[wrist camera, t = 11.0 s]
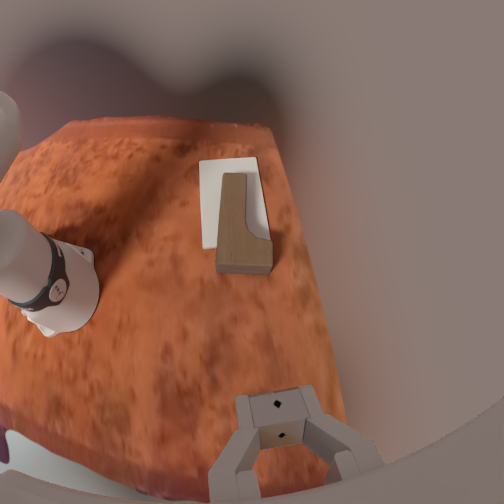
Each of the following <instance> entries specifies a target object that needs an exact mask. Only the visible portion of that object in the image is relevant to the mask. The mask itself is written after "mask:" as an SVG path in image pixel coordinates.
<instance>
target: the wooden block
mask: <svg viewBox="0 0 504 504" xmlns="http://www.w3.org/2000/svg"><path fill="white" fill-rule="evenodd" d="M246 198H247V174H245V173H226V172H225V173H223V177H222V187H221V199H220V210H219V222H218V235H217V249H216V270H217V272H218V273H236V274H261V275H269V274H270V272H271V269H272V267H273V242H272V241H271V240H266V239H262V238H257V237H255V236H254V235H253V234H252V233H251V232H250V231H249V230H248V226H247V223H246Z"/></svg>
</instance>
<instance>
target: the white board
mask: <svg viewBox="0 0 504 504" xmlns="http://www.w3.org/2000/svg"><path fill="white" fill-rule="evenodd" d="M225 172H226V173H245V174H247V198H246V223H247V226H248V230H249V231H250V232H251V233H252V234H253V235H254V236H255V237H257V238H262V239H266V240H271V239H270V233H269V228H268V222H267V216H266V210H265V205H264V199H263V193H262V188H261V182H260V177H259V171H258V166H257V161H256V157H250V158H232V159H217V160H204V161H199V175H200V201H201V222H202V240H203V249H210V248H217V235H218V222H219V210H220V199H221V187H222V177H223V173H225Z"/></svg>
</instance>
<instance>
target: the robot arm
mask: <svg viewBox="0 0 504 504" xmlns="http://www.w3.org/2000/svg"><path fill="white" fill-rule="evenodd" d="M23 141H24V126H23V120H22V116H21V113H20V110H19V108H18V106H17V105H16V103H15V102H14V100H13V99H12V98H11V97H10V96H8V95H7V94H6V93H4V92H2V91H0V183H1V182H2V180H3V178H4V176H5V175H6V173H7V171H8V170H9V168H10V166H11V165H12V163H13V162H14V160H15V158H16V157H17V155H18V153H19V152H20V150H21V148H22V147H23ZM82 253H84V254H83V255H82ZM0 295H1V296H3V297H5V298H7V299H8V300H9V301H10V302H11V303H12V304H14V305H15V306H16V307H18V308H20V309H22V310H21V313H22V314H23V315H24V316H27V317H28V320H29V321H31V322H33V323H35V324H36V325H37V326H38V328H39V329H40V330H41V332H42V333H43V334H44V335H45V336H46V337H48V338H51V337H54V336H55V335H57V334H58V333H61V332H70V331H74V330H76V329H78V328H80V327H82V326H83V325H84V324H85V323H86V322H87V321H88V320H89V319H90V318H91V316H92V314H93V313H94V311H95V309H96V306H97V303H98V298H99V282H98V278H97V275H96V272H95V270H94V255H93V252H92V251H91V250H89V249H86V248H83V247H79V246H76V245H72V244H69V243H65V242H62V241H58V240H55V239H52V238H51V237H49V236H48V235H46V234H44V233H42V232H39V231H38V230H37V229H36V228H35V227H34V226H33V225H32V224H31V223H30V222H29V221H28V220H27V219H25V218H24V217H23V216H22V215H21V214H20V213H19V212H17V211H14V210H9V209H0ZM235 404H236V411H237V418H238V425H239V430H235V432H234V433H233V435H232V437H231V438H230V440H229V441H228V443H227V445H226V446H225V448H224V449H223V451H222V452H221V454H220V456H219V457H218V459H217V460H216V462H215V463H214V465H213V466H212V468H211V469H210V471H209V472H208V480H209V494H210V503H195V504H504V396H503V397H502V398H501V399H500V400H498V401H497V402H496V403H495V404H493V405H492V406H490V407H489V408H488V409H486V410H485V411H484V412H482V413H481V414H479V415H478V416H476V417H475V418H473V419H472V420H470V421H469V422H467V423H465V424H464V425H462V426H461V427H459V428H457V429H456V430H454V431H453V432H451V433H449V434H447V435H446V436H444V437H442V438H440V439H439V440H437V441H435V442H433V443H431V444H429V445H427V446H425V447H424V448H422V449H419V450H417V451H416V452H413V453H411V454H409V455H407V456H405V457H403V458H401V459H398V460H396V461H394V462H391V463H389V464H386V465H385V464H384V462H383V460H382V458H381V456H380V454H379V452H378V450H377V448H376V446H375V444H374V442H373V440H371V439H369V438H367V437H366V436H364V435H362V434H360V433H359V432H357V431H355V430H353V429H352V428H350V427H349V426H347V425H345V424H344V423H342V422H340V421H339V420H337V419H335V418H334V417H332V416H330V415H329V414H325V415H324V413H323V410H322V408H321V406H320V403H319V401H318V399H317V396H316V394H315V391H314V389H313V387H312V386H311V385H306V386H300V387H294V388H289V389H283V390H278V391H273V392H267V393H259V394H250V395H241V396H235ZM298 443H302V444H304V445H305V446H306V447H307V448H308V449H310V450H311V451H312V452H313V453H314V454H316V455H317V456H318V457H319V458H321V459H322V460H323V461H324V462H326V463H327V464H328V465H329V466H330V467H329V469H328V472H327V474H326V476H325V478H324V482H325V485H324V486H321V487H317V488H313V489H309V490H304V491H300V492H295V493H290V494H285V495H279V496H274V497H267V498H261V494H260V489H259V485H258V480H257V475H256V472H254V471H252V468H253V466H254V464H255V462H256V459H257V457H258V455H259V453H260V450H264V449H270V448H275V447H280V446H286V445H292V444H298ZM0 504H187V503H160V502H159V503H158V502H146V501H136V500H128V499H120V498H113V497H107V496H102V495H97V494H91V493H87V492H83V491H78V490H74V489H70V488H66V487H62V486H59V485H56V484H52V483H49V482H46V481H43V480H40V479H37V478H34V477H31V476H28V475H26V474H23V473H21V472H18V471H15V470H8V471H6V472H4V473H2V474H0ZM188 504H189V503H188ZM190 504H194V503H190Z"/></svg>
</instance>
